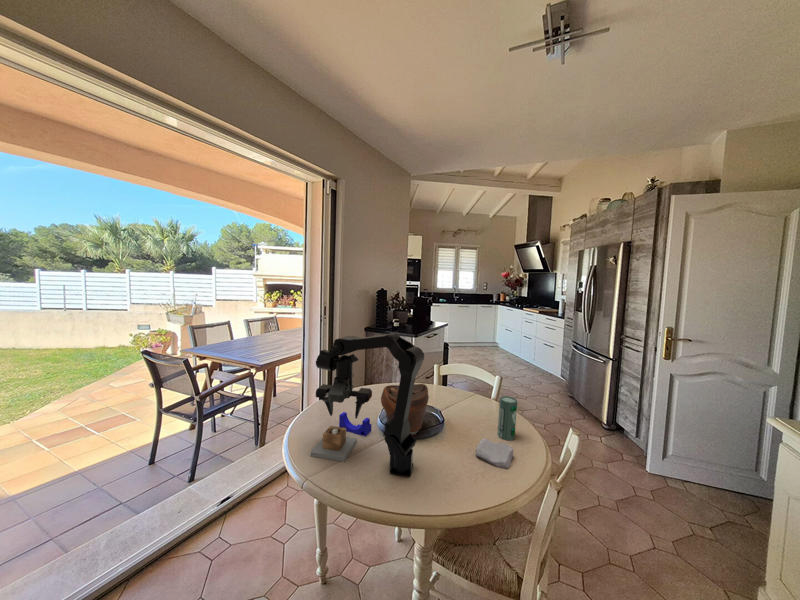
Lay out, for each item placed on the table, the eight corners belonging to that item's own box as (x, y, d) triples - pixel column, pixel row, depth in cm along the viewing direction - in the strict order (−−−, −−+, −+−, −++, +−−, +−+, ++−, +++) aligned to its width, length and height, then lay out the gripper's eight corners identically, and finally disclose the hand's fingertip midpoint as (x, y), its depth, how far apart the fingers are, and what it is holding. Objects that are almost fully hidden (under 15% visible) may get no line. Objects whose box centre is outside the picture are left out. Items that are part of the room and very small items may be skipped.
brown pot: (370, 427, 121) (372, 384, 120) (406, 413, 135) (408, 374, 133) (399, 448, 108) (402, 399, 106) (436, 430, 121) (439, 387, 120)
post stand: (356, 442, 110) (357, 423, 110) (344, 461, 99) (344, 441, 98) (326, 437, 113) (326, 419, 112) (310, 456, 101) (310, 436, 100)
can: (516, 440, 116) (519, 402, 114) (500, 440, 116) (503, 402, 114) (510, 432, 122) (513, 396, 120) (495, 431, 122) (498, 395, 120)
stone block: (508, 476, 98) (514, 455, 106) (508, 463, 97) (514, 443, 105) (472, 464, 104) (480, 445, 112) (472, 453, 103) (480, 434, 111)
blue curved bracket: (371, 431, 119) (371, 416, 118) (365, 437, 115) (366, 421, 114) (345, 424, 123) (345, 410, 123) (339, 429, 119) (339, 415, 119)
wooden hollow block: (345, 441, 108) (346, 428, 107) (339, 451, 102) (339, 437, 102) (330, 439, 109) (330, 425, 109) (322, 448, 103) (322, 434, 103)
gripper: (307, 378, 98) (307, 424, 99) (363, 383, 94) (362, 431, 96) (322, 368, 109) (322, 410, 110) (372, 372, 105) (372, 415, 107)
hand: (343, 416), depth 105 cm, fingers open, 9 cm apart
